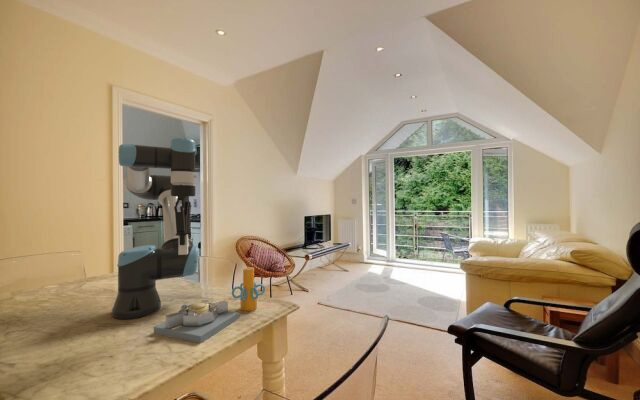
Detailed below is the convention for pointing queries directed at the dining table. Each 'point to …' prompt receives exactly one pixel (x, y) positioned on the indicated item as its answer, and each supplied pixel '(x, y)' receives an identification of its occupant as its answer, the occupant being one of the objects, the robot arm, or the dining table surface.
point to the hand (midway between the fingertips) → (183, 254)
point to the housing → (201, 331)
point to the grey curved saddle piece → (196, 315)
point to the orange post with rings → (248, 290)
